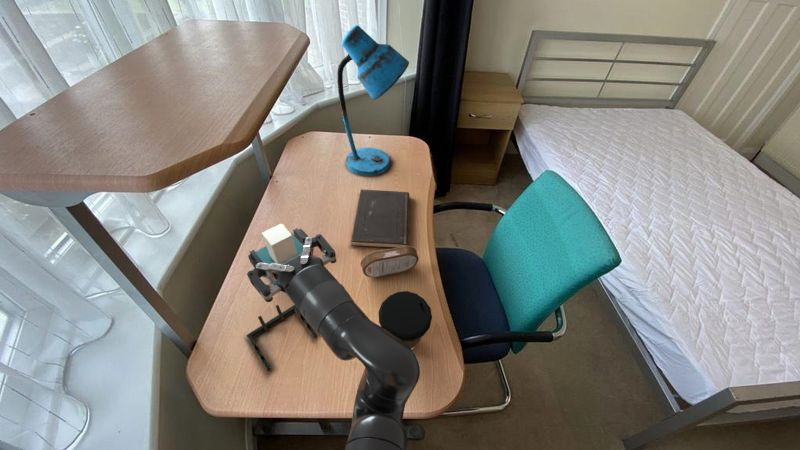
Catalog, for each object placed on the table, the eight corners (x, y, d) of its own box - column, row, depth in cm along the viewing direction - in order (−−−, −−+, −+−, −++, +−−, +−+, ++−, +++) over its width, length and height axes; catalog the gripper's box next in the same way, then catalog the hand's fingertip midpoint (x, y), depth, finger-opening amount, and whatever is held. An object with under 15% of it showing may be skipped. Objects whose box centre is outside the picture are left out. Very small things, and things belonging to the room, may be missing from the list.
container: (279, 268, 85) (271, 245, 79) (269, 255, 88) (261, 232, 81) (298, 257, 88) (292, 235, 81) (288, 246, 90) (281, 223, 84)
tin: (414, 262, 89) (417, 241, 83) (418, 271, 87) (421, 250, 81) (360, 273, 86) (359, 252, 80) (363, 282, 84) (362, 262, 78)
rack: (267, 371, 67) (260, 359, 63) (247, 337, 72) (239, 324, 68) (317, 336, 73) (313, 323, 69) (295, 306, 78) (290, 292, 74)
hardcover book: (351, 246, 92) (350, 241, 90) (361, 194, 108) (360, 189, 107) (407, 249, 92) (408, 244, 91) (408, 197, 108) (409, 191, 107)
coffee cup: (417, 312, 78) (421, 283, 70) (433, 355, 71) (441, 329, 62) (373, 324, 76) (372, 295, 67) (385, 370, 68) (386, 344, 60)
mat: (274, 285, 82) (274, 284, 81) (252, 255, 88) (251, 253, 88) (316, 261, 88) (316, 260, 87) (292, 234, 94) (291, 233, 94)
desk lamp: (400, 179, 115) (409, 38, 84) (339, 173, 116) (325, 32, 84) (404, 154, 127) (412, 22, 95) (348, 149, 127) (338, 16, 96)
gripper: (286, 337, 51) (243, 273, 60) (358, 288, 58) (311, 237, 67) (275, 313, 46) (229, 247, 54) (356, 262, 53) (305, 210, 61)
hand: (274, 241), depth 60 cm, fingers open, 8 cm apart
